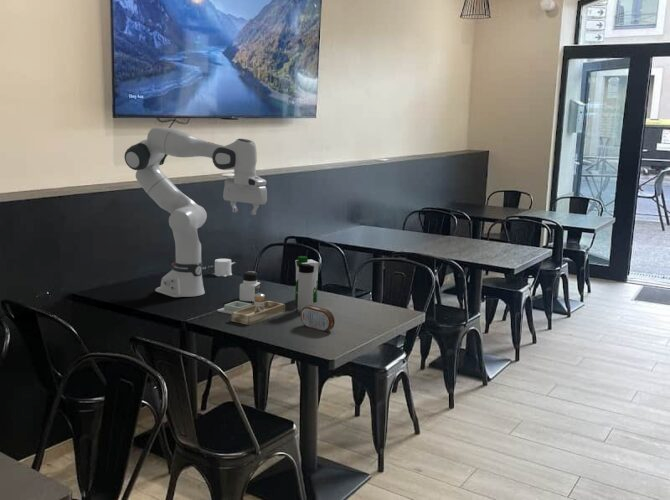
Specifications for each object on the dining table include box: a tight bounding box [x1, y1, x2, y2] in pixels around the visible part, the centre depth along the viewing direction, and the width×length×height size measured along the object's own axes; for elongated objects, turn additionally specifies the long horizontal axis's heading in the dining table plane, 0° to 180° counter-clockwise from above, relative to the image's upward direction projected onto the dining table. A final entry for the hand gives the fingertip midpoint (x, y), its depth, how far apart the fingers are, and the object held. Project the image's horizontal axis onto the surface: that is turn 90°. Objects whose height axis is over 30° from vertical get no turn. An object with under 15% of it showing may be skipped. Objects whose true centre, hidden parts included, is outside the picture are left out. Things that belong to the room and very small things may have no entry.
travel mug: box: [297, 264, 314, 313], centre depth 283 cm, size 6×7×20 cm
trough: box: [230, 300, 286, 326], centre depth 275 cm, size 9×23×4 cm, turn 149°
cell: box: [253, 292, 266, 314], centre depth 274 cm, size 4×4×8 cm
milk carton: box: [294, 255, 320, 303], centre depth 298 cm, size 9×9×20 cm
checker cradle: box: [216, 300, 253, 315], centre depth 282 cm, size 12×12×3 cm
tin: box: [300, 304, 336, 332], centre depth 261 cm, size 15×3×8 cm, turn 51°
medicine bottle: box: [239, 271, 261, 303], centre depth 300 cm, size 7×7×12 cm
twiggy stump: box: [213, 258, 236, 277], centre depth 346 cm, size 20×19×8 cm
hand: (244, 213), depth 284 cm, fingers open, 8 cm apart
